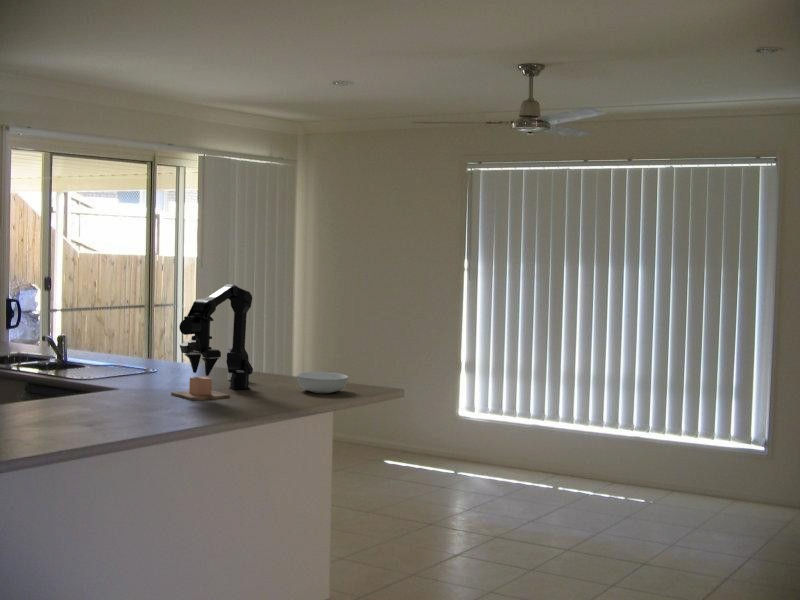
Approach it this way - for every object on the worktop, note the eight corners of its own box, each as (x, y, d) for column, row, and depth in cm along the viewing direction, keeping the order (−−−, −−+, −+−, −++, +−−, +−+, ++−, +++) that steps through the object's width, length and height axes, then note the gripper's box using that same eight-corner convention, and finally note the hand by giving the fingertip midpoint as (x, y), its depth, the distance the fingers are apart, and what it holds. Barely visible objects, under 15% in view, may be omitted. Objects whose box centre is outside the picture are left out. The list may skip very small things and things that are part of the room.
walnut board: (207, 392, 368) (207, 389, 368) (229, 397, 357) (229, 395, 357) (171, 394, 358) (171, 392, 358) (192, 400, 346) (192, 398, 346)
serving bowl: (307, 396, 367) (308, 379, 367) (288, 389, 386) (289, 372, 386) (355, 395, 377) (356, 378, 377) (335, 387, 395) (335, 371, 395)
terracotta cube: (203, 392, 361) (203, 376, 361) (211, 394, 357) (211, 378, 357) (189, 393, 357) (189, 377, 357) (197, 395, 353) (197, 379, 353)
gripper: (170, 331, 357) (169, 372, 358) (195, 336, 344) (194, 378, 344) (196, 331, 365) (195, 370, 366) (222, 335, 351) (220, 376, 352)
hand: (200, 374), depth 357 cm, fingers open, 9 cm apart
